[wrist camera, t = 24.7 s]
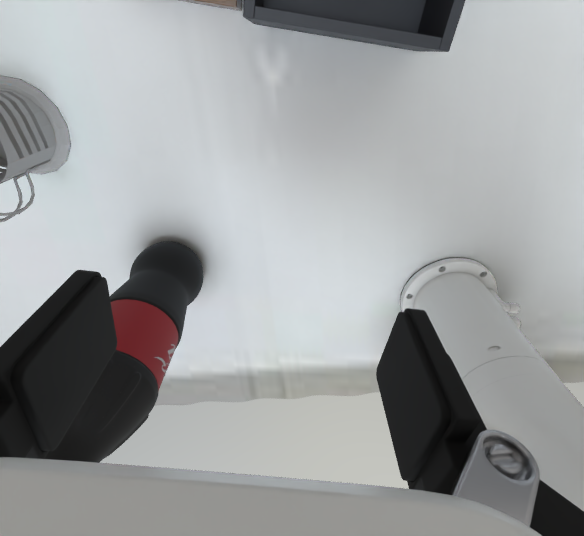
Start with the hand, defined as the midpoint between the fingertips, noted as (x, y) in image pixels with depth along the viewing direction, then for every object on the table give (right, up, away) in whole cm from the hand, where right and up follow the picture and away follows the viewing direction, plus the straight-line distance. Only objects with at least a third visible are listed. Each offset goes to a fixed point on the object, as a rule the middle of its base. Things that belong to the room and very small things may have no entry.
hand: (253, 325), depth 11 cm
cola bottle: (-14, +2, +35) cm, 37 cm away
